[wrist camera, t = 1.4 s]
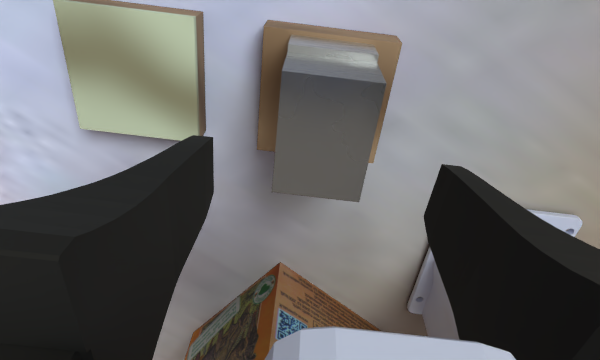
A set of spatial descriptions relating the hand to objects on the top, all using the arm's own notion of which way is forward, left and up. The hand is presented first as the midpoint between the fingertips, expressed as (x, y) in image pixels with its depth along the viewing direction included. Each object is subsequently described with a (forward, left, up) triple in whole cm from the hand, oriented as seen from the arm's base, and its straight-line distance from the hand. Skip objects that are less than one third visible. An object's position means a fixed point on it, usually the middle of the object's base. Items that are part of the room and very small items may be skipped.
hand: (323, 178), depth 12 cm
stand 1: (0, +9, -9) cm, 12 cm away
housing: (0, 0, -7) cm, 7 cm away
